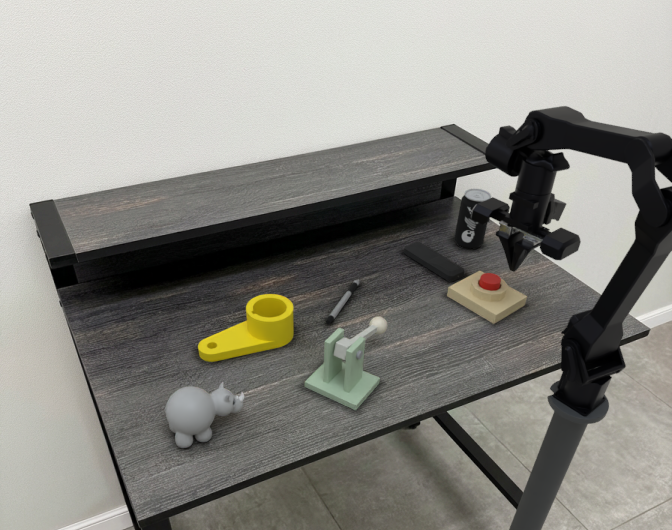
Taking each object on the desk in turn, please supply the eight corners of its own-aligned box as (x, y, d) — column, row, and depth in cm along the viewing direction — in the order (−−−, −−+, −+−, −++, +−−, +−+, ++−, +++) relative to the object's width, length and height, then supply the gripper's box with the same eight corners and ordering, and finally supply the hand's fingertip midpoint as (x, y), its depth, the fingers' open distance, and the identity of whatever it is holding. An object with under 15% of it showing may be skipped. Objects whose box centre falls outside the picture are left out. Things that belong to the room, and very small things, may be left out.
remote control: (401, 254, 139) (450, 282, 130) (401, 247, 138) (451, 275, 129) (417, 247, 142) (466, 275, 133) (418, 240, 141) (467, 268, 132)
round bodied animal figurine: (253, 434, 97) (250, 394, 91) (175, 456, 93) (168, 416, 87) (239, 404, 101) (236, 364, 96) (165, 423, 98) (157, 383, 92)
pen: (324, 324, 118) (324, 318, 117) (356, 280, 130) (356, 275, 129) (331, 326, 118) (331, 320, 117) (362, 282, 129) (362, 276, 129)
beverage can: (450, 246, 142) (459, 197, 134) (457, 233, 146) (466, 185, 138) (479, 253, 140) (489, 203, 132) (485, 239, 145) (495, 191, 137)
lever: (372, 327, 113) (376, 311, 111) (388, 333, 111) (392, 317, 110) (330, 356, 101) (333, 339, 99) (347, 363, 100) (350, 346, 98)
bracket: (329, 361, 110) (331, 316, 104) (379, 383, 107) (384, 338, 100) (304, 387, 105) (304, 341, 99) (355, 410, 101) (359, 365, 95)
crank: (280, 315, 120) (279, 289, 116) (301, 339, 114) (301, 313, 111) (191, 343, 112) (187, 316, 108) (209, 370, 107) (206, 343, 103)
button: (503, 286, 124) (505, 279, 123) (490, 293, 122) (492, 286, 121) (487, 278, 126) (489, 270, 125) (474, 284, 124) (476, 277, 123)
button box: (524, 305, 125) (529, 288, 123) (493, 324, 120) (498, 307, 118) (477, 279, 132) (481, 262, 129) (446, 296, 127) (449, 279, 124)
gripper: (611, 194, 101) (583, 277, 111) (517, 158, 111) (499, 236, 122) (572, 214, 95) (547, 299, 105) (477, 173, 106) (462, 254, 116)
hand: (513, 270), depth 112 cm, fingers closed
